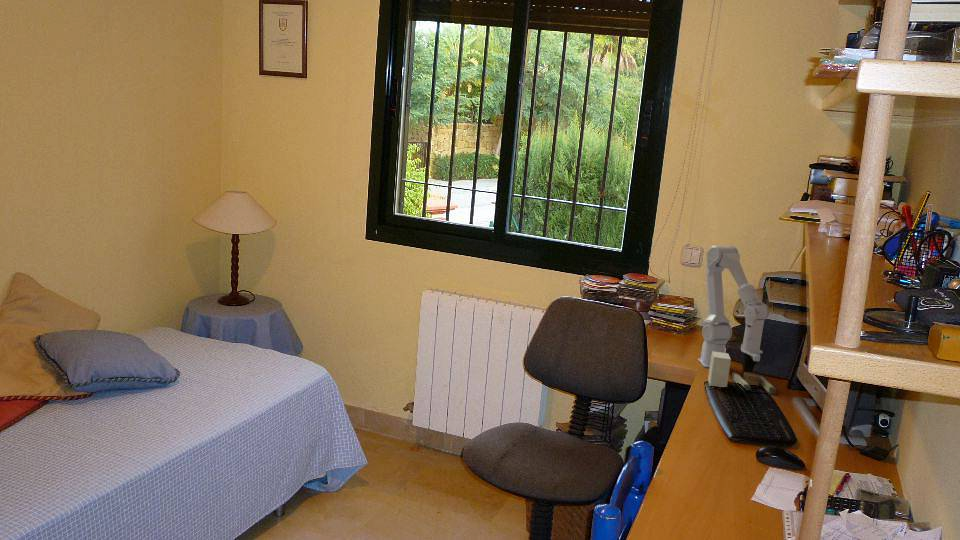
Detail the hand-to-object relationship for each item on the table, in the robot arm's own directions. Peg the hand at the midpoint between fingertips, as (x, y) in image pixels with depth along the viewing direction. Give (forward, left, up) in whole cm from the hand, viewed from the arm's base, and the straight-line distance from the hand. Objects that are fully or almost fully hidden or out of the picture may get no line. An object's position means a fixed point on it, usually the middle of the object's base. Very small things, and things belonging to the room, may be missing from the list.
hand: (746, 375), depth 279 cm
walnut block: (+5, 0, -2) cm, 5 cm away
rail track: (+7, 0, -1) cm, 8 cm away
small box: (+10, -13, -2) cm, 16 cm away
